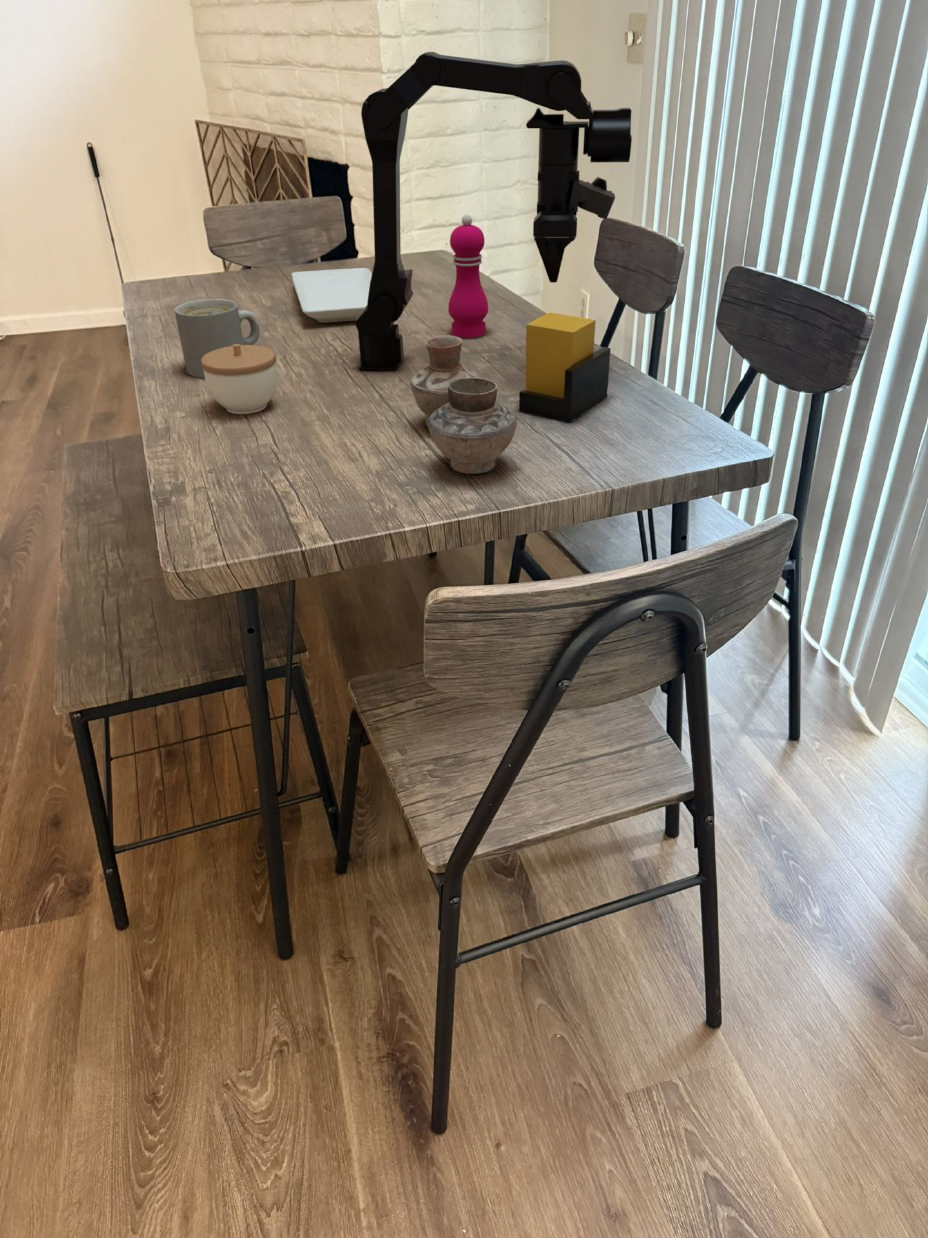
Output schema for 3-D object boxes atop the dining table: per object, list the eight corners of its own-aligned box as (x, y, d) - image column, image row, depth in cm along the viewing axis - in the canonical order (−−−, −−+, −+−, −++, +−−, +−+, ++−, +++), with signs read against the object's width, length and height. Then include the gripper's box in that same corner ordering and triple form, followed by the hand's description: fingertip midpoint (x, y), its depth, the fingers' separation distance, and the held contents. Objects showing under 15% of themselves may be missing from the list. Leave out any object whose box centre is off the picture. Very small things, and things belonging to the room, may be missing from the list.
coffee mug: (193, 381, 144) (181, 318, 139) (181, 363, 152) (168, 303, 146) (274, 368, 149) (265, 307, 143) (257, 351, 157) (249, 292, 151)
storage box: (524, 405, 133) (525, 323, 126) (546, 391, 138) (549, 312, 131) (569, 415, 130) (573, 332, 123) (590, 400, 134) (595, 319, 128)
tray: (369, 282, 195) (368, 265, 193) (394, 322, 169) (392, 303, 167) (292, 288, 192) (289, 271, 190) (304, 330, 166) (302, 311, 164)
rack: (518, 411, 131) (519, 360, 127) (557, 386, 139) (559, 338, 135) (569, 422, 127) (572, 371, 123) (607, 397, 135) (610, 347, 131)
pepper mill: (442, 336, 161) (438, 217, 150) (458, 325, 167) (455, 209, 156) (479, 340, 159) (478, 220, 148) (494, 329, 165) (494, 211, 153)
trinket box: (220, 425, 129) (208, 361, 124) (202, 402, 137) (190, 340, 131) (291, 411, 133) (283, 348, 128) (270, 389, 141) (261, 329, 135)
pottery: (473, 407, 133) (472, 326, 126) (528, 477, 113) (530, 385, 106) (399, 416, 130) (394, 334, 124) (441, 489, 111) (438, 396, 104)
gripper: (616, 172, 121) (608, 290, 130) (611, 153, 137) (604, 260, 145) (534, 172, 122) (531, 290, 131) (539, 153, 138) (536, 260, 146)
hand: (554, 274), depth 139 cm, fingers open, 9 cm apart
